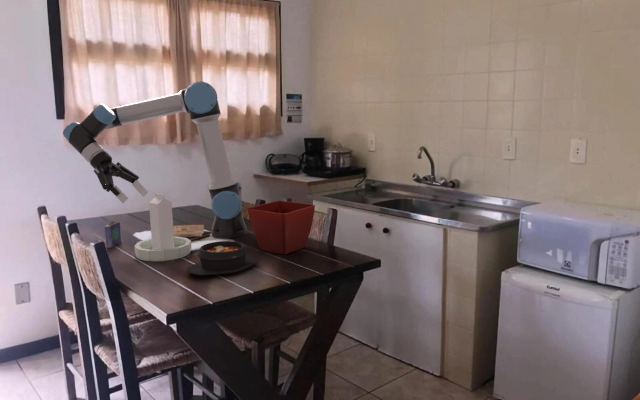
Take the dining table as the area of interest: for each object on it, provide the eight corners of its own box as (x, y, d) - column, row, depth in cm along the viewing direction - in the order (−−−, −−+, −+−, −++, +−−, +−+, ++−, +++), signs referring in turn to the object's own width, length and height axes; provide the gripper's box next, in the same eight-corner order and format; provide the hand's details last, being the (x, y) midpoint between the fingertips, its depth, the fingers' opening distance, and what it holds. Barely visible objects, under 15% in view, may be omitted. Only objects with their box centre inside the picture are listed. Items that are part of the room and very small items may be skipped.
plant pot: (247, 250, 203) (245, 207, 200) (280, 239, 218) (279, 199, 215) (284, 258, 192) (283, 213, 188) (316, 247, 206) (316, 205, 203)
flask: (110, 248, 207) (108, 222, 205) (103, 248, 208) (101, 222, 206) (122, 242, 216) (120, 217, 214) (116, 242, 217) (113, 216, 215)
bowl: (194, 245, 210) (194, 235, 210) (185, 260, 191) (185, 249, 190) (143, 247, 209) (143, 237, 208) (129, 262, 189) (128, 251, 189)
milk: (161, 254, 196) (156, 196, 192) (152, 251, 200) (147, 194, 195) (175, 250, 200) (171, 193, 196) (166, 247, 204) (162, 191, 200)
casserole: (201, 285, 165) (200, 259, 164) (178, 270, 180) (176, 247, 178) (269, 269, 180) (268, 245, 179) (242, 257, 195) (241, 235, 193)
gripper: (111, 160, 212) (148, 198, 211) (69, 168, 188) (110, 210, 187) (122, 147, 209) (159, 185, 209) (81, 153, 186) (122, 196, 185)
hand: (136, 197), depth 198 cm, fingers open, 13 cm apart
